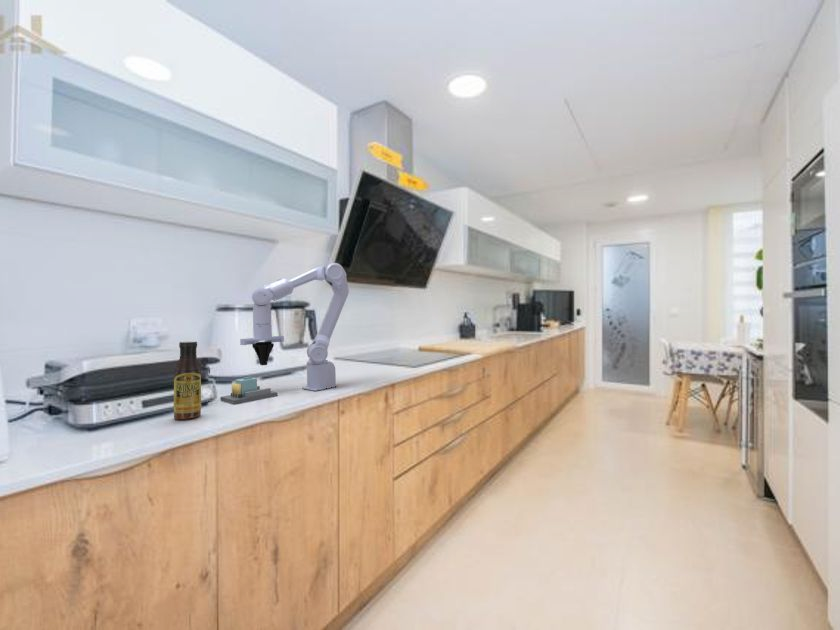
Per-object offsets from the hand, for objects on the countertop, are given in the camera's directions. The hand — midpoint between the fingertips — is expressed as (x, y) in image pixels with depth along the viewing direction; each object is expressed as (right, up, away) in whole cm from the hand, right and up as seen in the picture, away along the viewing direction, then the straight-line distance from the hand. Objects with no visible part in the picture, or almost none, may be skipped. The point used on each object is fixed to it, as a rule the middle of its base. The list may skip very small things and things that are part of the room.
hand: (263, 365), depth 133 cm
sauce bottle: (-8, -10, -29) cm, 32 cm away
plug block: (-2, -8, -8) cm, 12 cm away
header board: (-2, -10, -8) cm, 12 cm away
